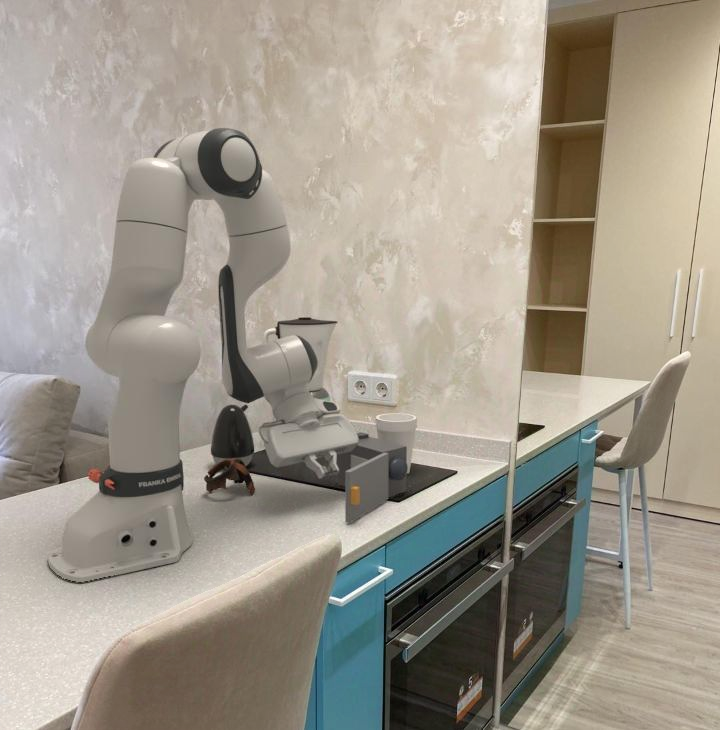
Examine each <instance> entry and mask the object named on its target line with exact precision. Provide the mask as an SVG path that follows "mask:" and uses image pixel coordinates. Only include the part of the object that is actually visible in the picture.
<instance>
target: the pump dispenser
mask: <svg viewBox="0 0 720 730" xmlns="http://www.w3.org/2000/svg"><path fill="white" fill-rule="evenodd" d="M248 408H249V405H248V404H244V405H242V406H241V407H240V406H238V405H236V404H227V405H226V406H224V407H223V408H222V409H221V410H220V412H219V414H218V415H217V418H216V421H215V424H214V427H213V431H212V432H213V433H212V437H211V444H210V454H211V456H212V459H213V462H214V463H215V465H216V464H218V463H219V462H221V461H223V460H226V459H233V460H235V459H237V458H238V459H241V460H242V461H243V462H244V464H245V467H247V466H249V464H250V462H251V461H252V459H253V455H254V453H255V443H254V438H253V433H252V429H251V426H250V422H249V420H248V418H247V416H246V413H245V411H247V409H248ZM226 469H227V467H225V468H224V469H223V470H226Z"/></svg>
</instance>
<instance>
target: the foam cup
mask: <svg viewBox="0 0 720 730" xmlns="http://www.w3.org/2000/svg"><path fill="white" fill-rule="evenodd" d="M417 422H418V417H416V416H415V415H413V414H409V413H399V412H398V413H397V412H396V413H394V412H391V413H390V412H389V413H381V414H378V415H376V416H375V429H376V433H377V439H380V440H384V441H388V442H392V443H396V444H399V445H403V446H407V457H406V463H407V466H408V470H407V473H408V474H410V470H411V464H412V458H413V450H414V444H415V443H414V442H415V437H416V429H417V428H418V427H417V426H418V423H417Z"/></svg>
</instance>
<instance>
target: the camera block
mask: <svg viewBox="0 0 720 730" xmlns="http://www.w3.org/2000/svg"><path fill="white" fill-rule="evenodd" d="M356 433H357V435H358V438H359V441H358V444H357V446H356V447H355V448H354V449H353V450H352V451H351V452H346V453H342V454H337V459H336V464H337V466H338V468H339V472H338V474H337V475H334V484H336V483H337V484H336V485H339V486H342V485H343V486H342V487H344V486H345V471H347V470H349V469H351V468H353V467H355V466H358V465H360V464H362V463H364V462H366V461H368V460H370V459H372V458H374V457H376V456H378V455H380V454H382V453H389V472H388V499H390V498H389V497H391V496H394V495H396V494H399V493H402V492H405V491H406V492H407V475H408V474H407V470H408V466H407V463H406V457H407V446H403V445H399V444H396V443H392V442H388V441H384V440H380V439H378V438H377V437H371V436H370V435H369V434H368V433H366V432H362V431H361V432H356ZM406 474H407V475H406ZM394 497H395V496H394ZM391 498H392V497H391Z"/></svg>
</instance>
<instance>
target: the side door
mask: <svg viewBox="0 0 720 730" xmlns="http://www.w3.org/2000/svg"><path fill="white" fill-rule="evenodd" d="M388 472H389V453H382V454H380V455H378V456H376V457H374V458H372V459H370V460H368V461H366V462H364V463H362V464H360V465H358V466H355V467H353V468H351V469H349V470H347V471H345V487H344V488H345V489H344V490H345V491H344V492H345V495H344V497H345V498H344V499H345V506H344V507H345V508H344V509H345V513H344V514H345V517H344V518H345V523H352V522H354V521H356V520H357V519H358V518H360V517H361V516H363V515H365V514H367V513H368V512H370V511H371V510H373V509H375V508H376V507H378V506H379V505H381V504H383V503H384V502H385V501H388V499H389V498H388Z"/></svg>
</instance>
